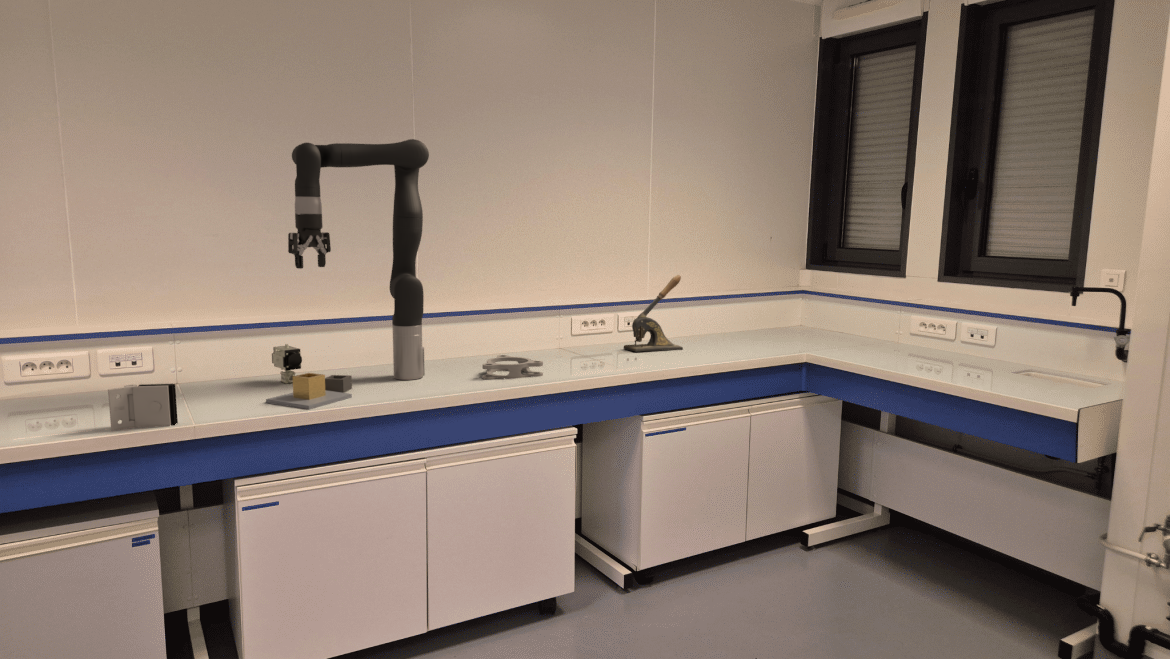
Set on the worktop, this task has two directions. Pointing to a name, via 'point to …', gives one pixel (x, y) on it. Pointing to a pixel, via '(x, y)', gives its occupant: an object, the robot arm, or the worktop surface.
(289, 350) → the pneumatic valve
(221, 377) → the worktop surface
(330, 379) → the grey hollow square block
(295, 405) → the post block
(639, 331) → the embossing press
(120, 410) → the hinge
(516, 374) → the mechanical component
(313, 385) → the brass collar
